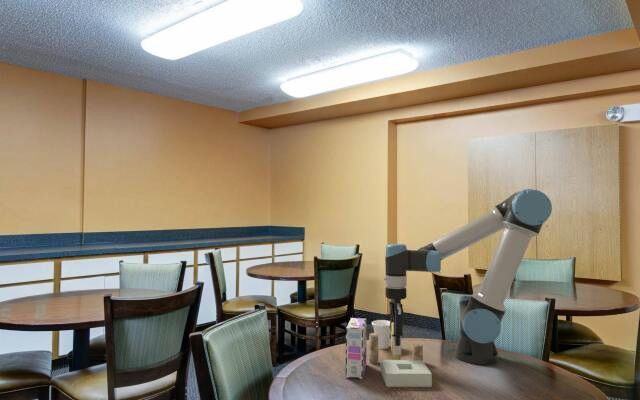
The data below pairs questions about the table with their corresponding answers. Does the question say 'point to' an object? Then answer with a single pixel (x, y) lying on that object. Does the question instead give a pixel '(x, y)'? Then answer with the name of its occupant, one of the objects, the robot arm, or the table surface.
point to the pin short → (418, 352)
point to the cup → (382, 332)
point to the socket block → (406, 373)
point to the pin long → (394, 357)
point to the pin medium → (373, 348)
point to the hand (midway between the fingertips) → (396, 352)
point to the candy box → (356, 348)
